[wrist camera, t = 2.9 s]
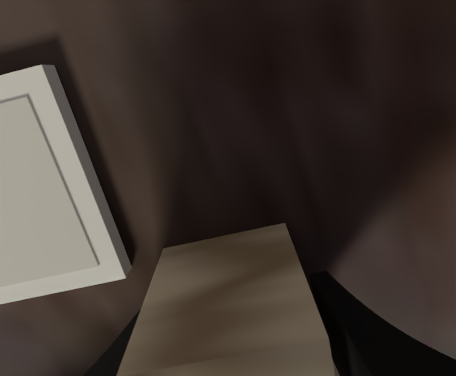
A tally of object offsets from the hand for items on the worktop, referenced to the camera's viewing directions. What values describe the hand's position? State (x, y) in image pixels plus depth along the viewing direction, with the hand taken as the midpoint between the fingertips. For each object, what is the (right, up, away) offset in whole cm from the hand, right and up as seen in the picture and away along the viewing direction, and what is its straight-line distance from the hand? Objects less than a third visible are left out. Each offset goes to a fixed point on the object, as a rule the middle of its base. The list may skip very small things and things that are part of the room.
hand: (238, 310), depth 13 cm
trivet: (-9, +4, 0) cm, 10 cm away
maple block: (0, 0, +1) cm, 2 cm away
